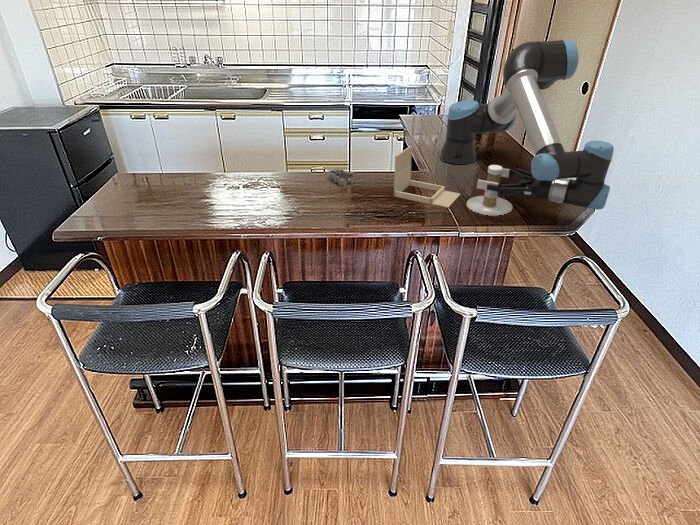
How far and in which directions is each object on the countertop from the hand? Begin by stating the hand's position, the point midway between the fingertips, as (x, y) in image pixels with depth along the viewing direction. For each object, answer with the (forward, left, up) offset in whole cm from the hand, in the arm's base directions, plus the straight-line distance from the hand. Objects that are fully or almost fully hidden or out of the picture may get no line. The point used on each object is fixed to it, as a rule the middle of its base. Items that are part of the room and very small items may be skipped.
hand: (483, 176), depth 145 cm
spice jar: (-1, +3, -10) cm, 10 cm away
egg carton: (+26, -47, -11) cm, 55 cm away
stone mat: (-1, +3, -10) cm, 11 cm away
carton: (+9, -16, -10) cm, 21 cm away
